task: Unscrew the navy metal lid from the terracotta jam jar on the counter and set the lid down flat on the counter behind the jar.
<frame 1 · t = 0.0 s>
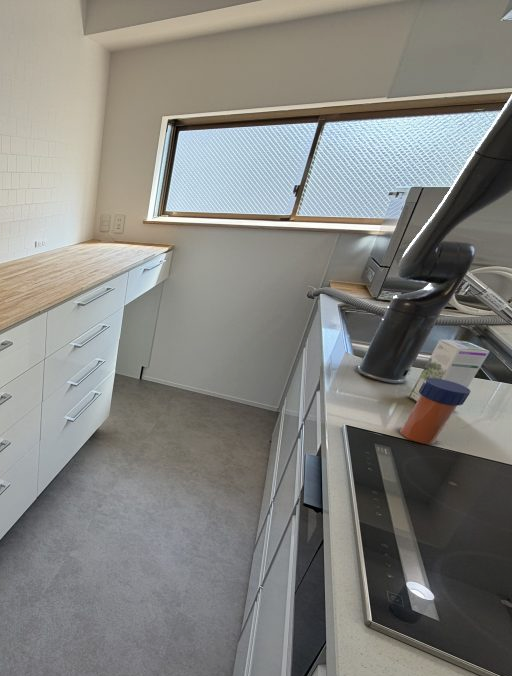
syrup box: (429, 405, 93), on the table
jam jar: (416, 436, 80), on the table
jar lid: (446, 386, 75), point 11 cm above the table, screwed on, not yet turned
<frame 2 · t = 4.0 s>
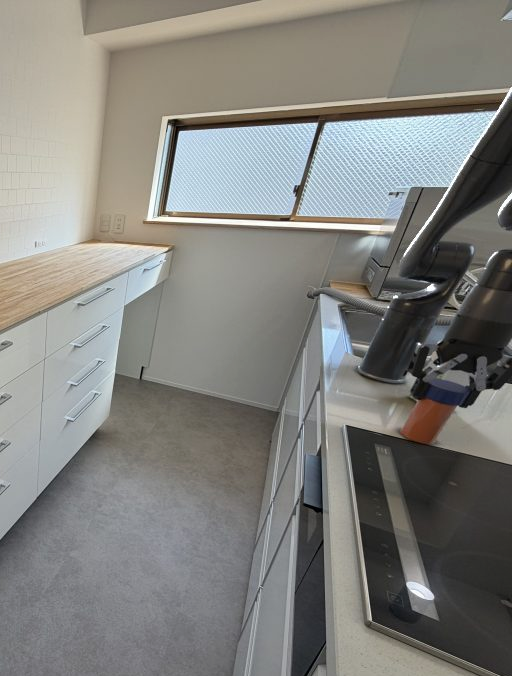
hand: (437, 401, 76), 8 cm above the table, tool pointing down, fingers closed on jar lid, 6 cm apart
jar lid: (446, 386, 75), point 11 cm above the table, screwed on, not yet turned, touching gripper
everything else where it was.
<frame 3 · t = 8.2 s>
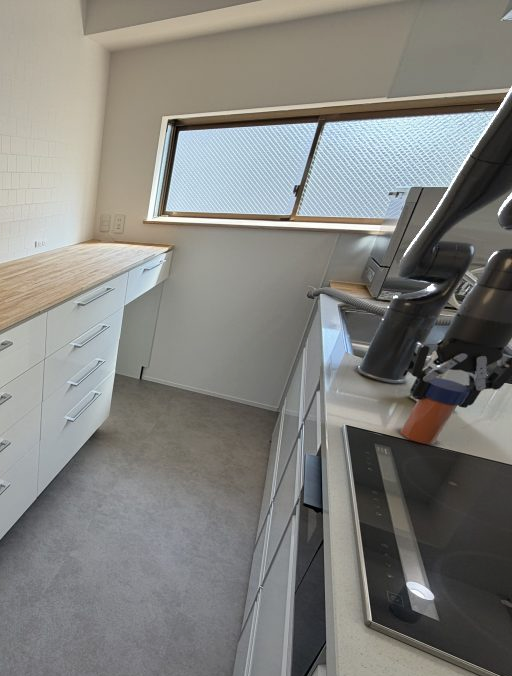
hand: (437, 401, 77), 8 cm above the table, tool pointing down, fingers closed on jar lid, 6 cm apart
jar lid: (447, 386, 75), point 11 cm above the table, turned 98° so far, risen 0.1 cm, still on its thread, touching gripper
everything else where it was.
when the fingers open (7 cm above the table, at t = 10.2 s): jar lid moves 2 cm, point 11 cm above the table.
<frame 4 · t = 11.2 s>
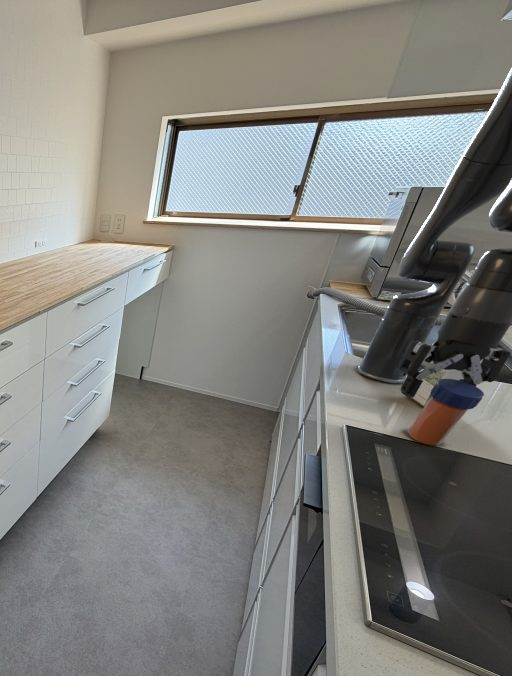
hand: (431, 397, 77), 8 cm above the table, tool pointing down, fingers open, 8 cm apart
jam jar: (424, 436, 80), on the table, tilted 8°
jar lid: (459, 389, 73), point 11 cm above the table, tilted 8°, turned 188° so far, risen 0.3 cm, still on its thread, touching gripper
everything else where it was.
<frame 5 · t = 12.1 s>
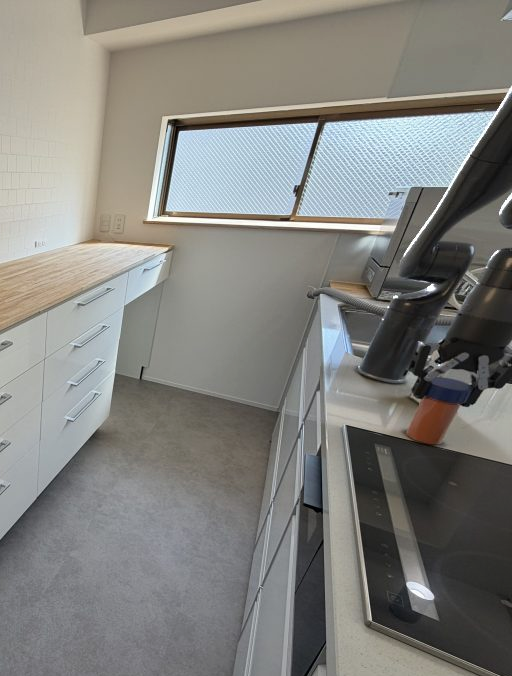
hand: (439, 400, 76), 8 cm above the table, tool pointing down, fingers closed on jar lid, 6 cm apart
jar lid: (448, 384, 75), point 11 cm above the table, turned 184° so far, risen 0.2 cm, still on its thread, touching gripper
when the fingers open (7 cm above the table, at t = 14.1 s): jar lid moves 2 cm, point 12 cm above the table.
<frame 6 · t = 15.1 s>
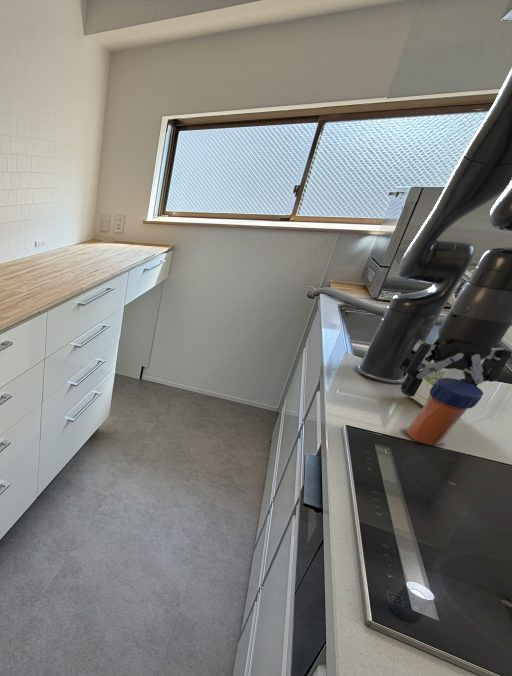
hand: (431, 396, 77), 8 cm above the table, tool pointing down, fingers open, 8 cm apart
jar lid: (458, 388, 73), point 12 cm above the table, tilted 8°, turned 276° so far, risen 0.4 cm, still on its thread
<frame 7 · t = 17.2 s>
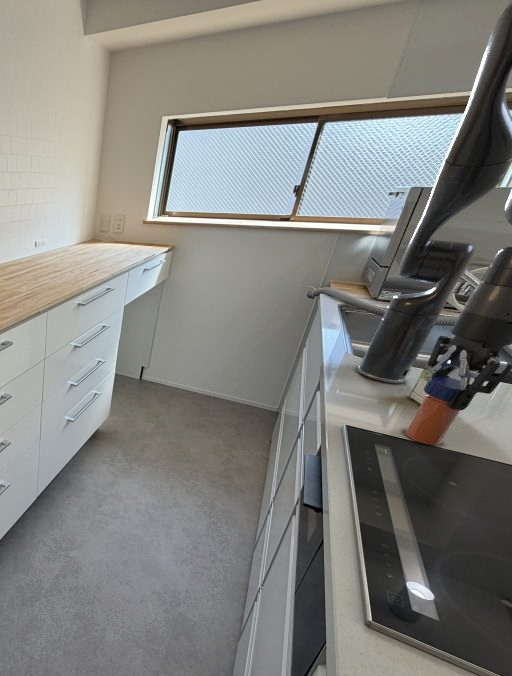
hand: (443, 400, 76), 8 cm above the table, tool pointing down, fingers closed on jar lid, 6 cm apart
jam jar: (422, 437, 80), on the table, touching jar lid
jar lid: (452, 384, 75), point 12 cm above the table, off its thread, touching gripper, jam jar
everything else where it was.
when the fingers open (0 cm above the table, at t = 26.5 s): jar lid stays where it is, point 2 cm above the table.
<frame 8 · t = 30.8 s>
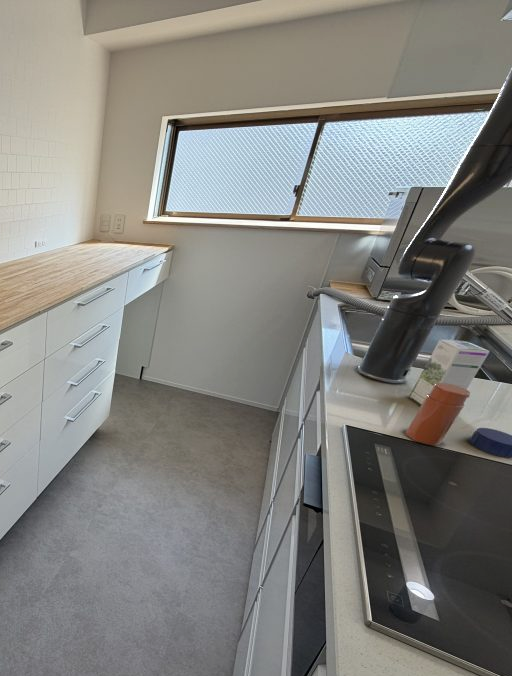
jam jar: (422, 437, 80), on the table
jar lid: (498, 437, 77), point 2 cm above the table, off its thread
everything else where it was.
at the end: jar lid came off its thread; jar lid point 2.3 cm above the table; the gripper is holding nothing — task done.
